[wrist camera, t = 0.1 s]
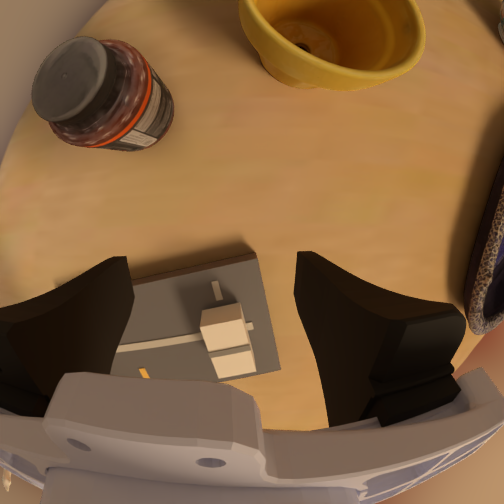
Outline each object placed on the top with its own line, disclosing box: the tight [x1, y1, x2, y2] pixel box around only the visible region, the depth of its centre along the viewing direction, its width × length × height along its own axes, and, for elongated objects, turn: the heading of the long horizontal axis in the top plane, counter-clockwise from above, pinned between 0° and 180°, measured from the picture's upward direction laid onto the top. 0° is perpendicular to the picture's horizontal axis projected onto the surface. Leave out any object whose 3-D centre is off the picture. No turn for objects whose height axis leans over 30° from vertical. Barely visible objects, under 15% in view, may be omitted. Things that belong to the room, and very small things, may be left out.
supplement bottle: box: [32, 37, 174, 151], centre depth 13 cm, size 6×6×11 cm
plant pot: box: [238, 0, 426, 91], centre depth 13 cm, size 10×10×10 cm
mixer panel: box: [110, 252, 281, 382], centre depth 23 cm, size 18×11×2 cm, turn 102°
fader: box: [200, 302, 256, 378], centre depth 21 cm, size 3×5×3 cm, turn 12°
